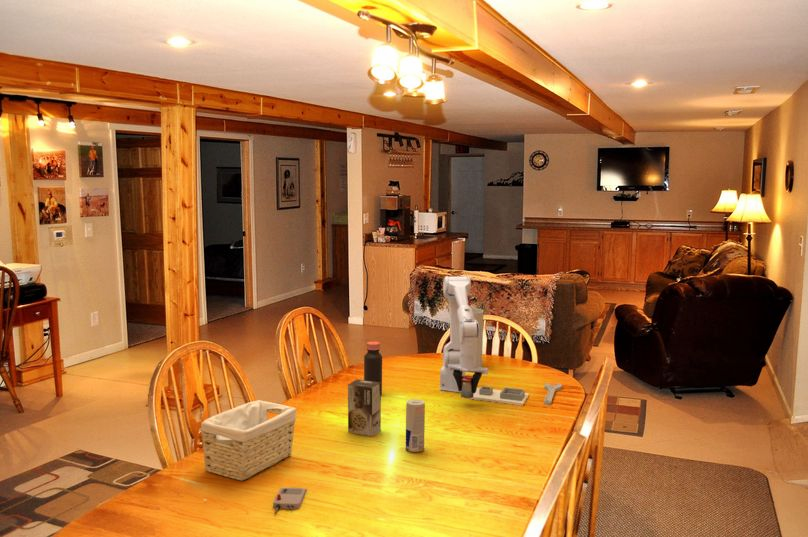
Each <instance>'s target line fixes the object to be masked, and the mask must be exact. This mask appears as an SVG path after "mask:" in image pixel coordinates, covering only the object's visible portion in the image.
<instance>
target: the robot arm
mask: <svg viewBox="0 0 808 537" xmlns="http://www.w3.org/2000/svg"><path fill="white" fill-rule="evenodd" d="M442 284H443V285H442V287H443V288H442V289H443V290H442V292H443V298H445V299H447V302H448V305H449V306H448V308H449V313H448V314H449V340H450V341H449V342H448V343H446V344H445V345H444V346H443V349H442V350H443V352H442V363H443V365H441V368H440V373H439V374H440V376H439V382H440V383H439V390H440V391H445V392H455V393H461V376H465V375H466V373H473V374H472V376H473V393H476V389H477V388H478V385H479V382H480V380H481V377H482V376H483V375H484V376H487V375H488V374H489V368H488V367H483V366H482V367H479V366H476V346H477V338H478V336H479V325H478V322H477V321H476V320H475V319H474V314H473V310H472V308H473V307H471V306H470V305H469V299H468V295H469V294H470V292H471V287H472V282H471V278H470V277H469V275H466V276H447V275H445V276H444V278H443V283H442ZM476 337H477V338H476ZM453 349H460V350H453Z"/></svg>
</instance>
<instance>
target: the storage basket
mask: <svg viewBox="0 0 808 537" xmlns="http://www.w3.org/2000/svg"><path fill="white" fill-rule="evenodd" d="M268 413H270V414H276V415H275V416H274V417H272V418H268ZM296 419H297V409H296V407H294V406H289V405H284V404H279V403H274V402H270V401H265V400H260V399H258V400H254V401H250V402H246V403H244V404H242V405H241V404H240V405H238V406H235V407H234V408H231V409H228V410H226V411H223V412H220V413H217V414H215V415H211V416H210V417H208V418H206V419H205V420H203V421H202V422H201V426H200V430H201V433H200V434H201V438H202V445H203V446H202V447H203V457H204V459H203V460H204V468H205V470H206V471H207V472H209V473H212V474H216V475H219V476H224V477H226V478H229V479H232V480H238V481H245V480H247V479H249V478H251V477H253V476H254V475H257V474H258V473H260V472H262V471H264V470H265V469H268V468H269V467H272V466H274V465H276V464H277V463H279V462H281V461H282V460H284V459H286V458H288V457H290V456H291V455H292V449H293V442H294V432H295V424H296Z"/></svg>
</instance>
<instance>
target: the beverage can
mask: <svg viewBox="0 0 808 537" xmlns="http://www.w3.org/2000/svg"><path fill="white" fill-rule="evenodd" d="M405 407H406V408H405V449H406V450H407V451H408V452H409V453H419V452H422V451H423V450H424V449H425V424H426V422H425V421H426V419H425V417H426V416H425V414H426V411H425V410H426V404H425V400H423V399H419V398H418V399H417V398H415V399H414V398H411V399H408V400H406V405H405Z"/></svg>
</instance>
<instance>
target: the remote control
mask: <svg viewBox="0 0 808 537" xmlns="http://www.w3.org/2000/svg"><path fill="white" fill-rule="evenodd" d="M307 489H308V488H304V487H303V488H302V487H280V488H279V490H278V492H277V494H276V496H275V498H274V500H273V501H272V507H273V508H274V509H275V511H274V514H276V513H277V512H278V510H280V509H281V510H284V509H285V510H290V511H292V510H299V509H300V508H301V506H302V503H303V501H304V498H305V496H306V494H307V491H308V490H307Z"/></svg>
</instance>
